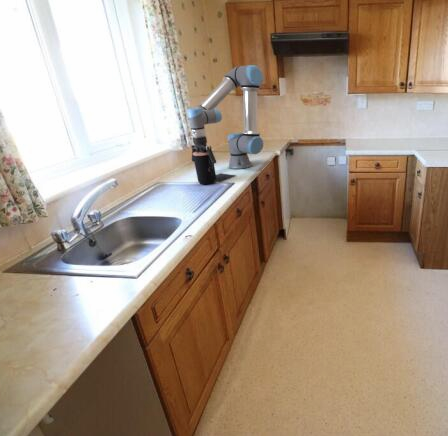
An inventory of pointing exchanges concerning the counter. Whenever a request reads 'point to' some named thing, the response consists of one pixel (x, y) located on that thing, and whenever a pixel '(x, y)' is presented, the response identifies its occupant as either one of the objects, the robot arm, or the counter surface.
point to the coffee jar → (203, 168)
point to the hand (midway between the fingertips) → (206, 174)
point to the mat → (223, 177)
